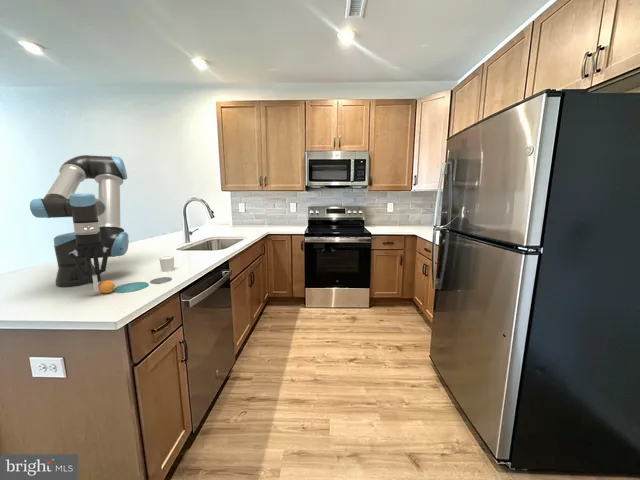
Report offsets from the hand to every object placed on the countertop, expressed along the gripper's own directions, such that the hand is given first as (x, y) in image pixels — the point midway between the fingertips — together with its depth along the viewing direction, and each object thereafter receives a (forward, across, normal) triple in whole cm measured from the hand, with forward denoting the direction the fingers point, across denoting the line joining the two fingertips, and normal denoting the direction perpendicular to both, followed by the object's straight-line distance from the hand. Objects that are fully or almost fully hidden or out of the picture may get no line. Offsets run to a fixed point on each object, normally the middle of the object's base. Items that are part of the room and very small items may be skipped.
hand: (96, 290), depth 109 cm
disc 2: (+2, +24, 0) cm, 24 cm away
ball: (-1, +3, 0) cm, 3 cm away
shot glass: (+2, +32, +16) cm, 36 cm away
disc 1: (+2, +12, 0) cm, 12 cm away
